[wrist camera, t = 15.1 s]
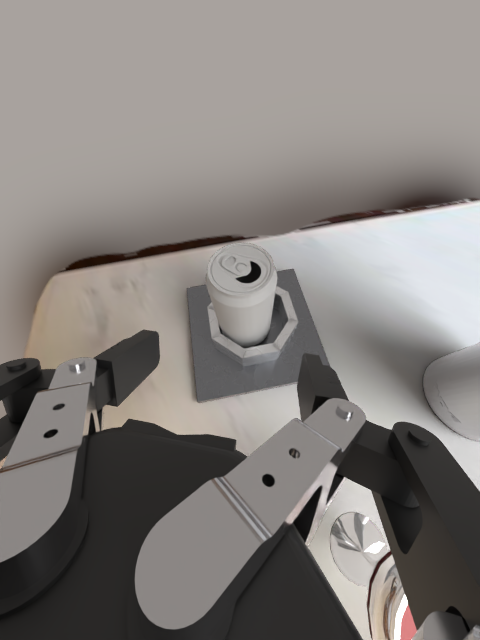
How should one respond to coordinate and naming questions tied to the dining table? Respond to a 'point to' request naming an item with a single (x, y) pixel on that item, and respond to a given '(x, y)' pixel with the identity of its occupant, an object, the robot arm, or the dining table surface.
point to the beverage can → (242, 292)
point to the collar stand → (257, 361)
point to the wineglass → (372, 575)
